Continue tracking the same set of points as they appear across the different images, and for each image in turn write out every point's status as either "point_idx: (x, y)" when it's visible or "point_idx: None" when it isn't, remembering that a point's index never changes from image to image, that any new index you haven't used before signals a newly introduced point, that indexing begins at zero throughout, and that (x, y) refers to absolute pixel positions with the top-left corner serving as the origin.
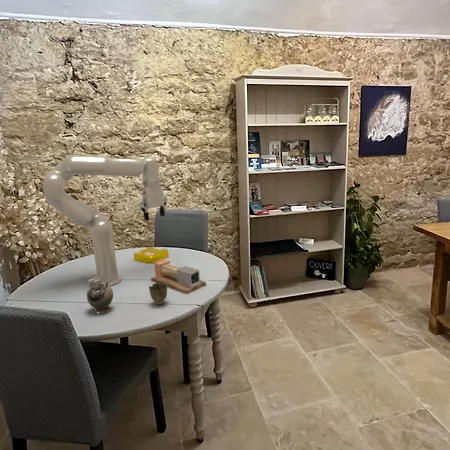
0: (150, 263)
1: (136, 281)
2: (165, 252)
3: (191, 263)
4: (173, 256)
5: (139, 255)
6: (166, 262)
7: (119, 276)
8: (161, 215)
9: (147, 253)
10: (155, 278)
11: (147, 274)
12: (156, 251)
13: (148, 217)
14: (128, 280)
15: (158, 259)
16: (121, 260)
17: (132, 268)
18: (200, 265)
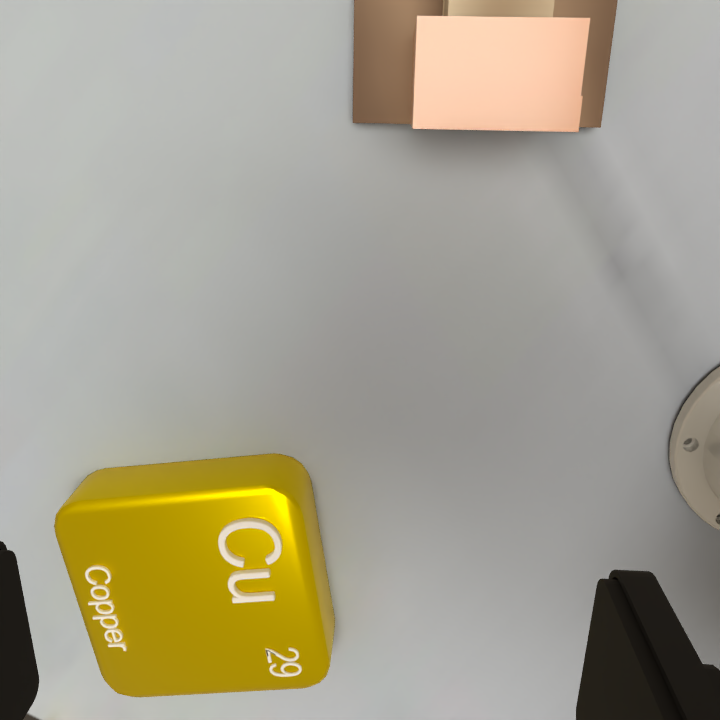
0: (303, 469)
1: (664, 242)
2: (105, 494)
3: (50, 150)
4: (57, 441)
5: (318, 612)
6: (471, 17)
7: (694, 424)
8: (25, 637)
9: (244, 591)
10: (585, 77)
11: (492, 292)
12: (158, 565)
13: (662, 627)
14: (679, 322)
15: (214, 467)
16: (392, 706)
17: (464, 509)
18: (20, 18)
